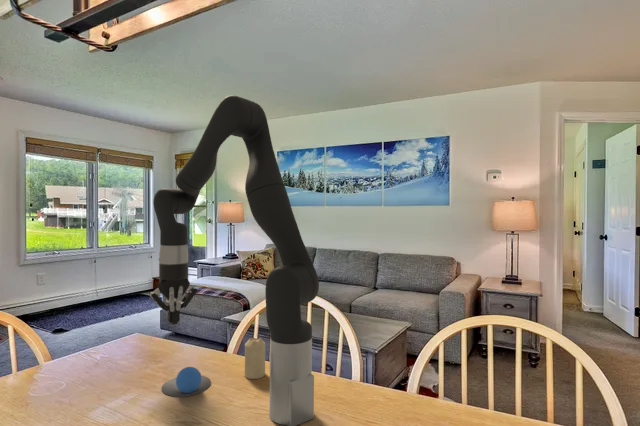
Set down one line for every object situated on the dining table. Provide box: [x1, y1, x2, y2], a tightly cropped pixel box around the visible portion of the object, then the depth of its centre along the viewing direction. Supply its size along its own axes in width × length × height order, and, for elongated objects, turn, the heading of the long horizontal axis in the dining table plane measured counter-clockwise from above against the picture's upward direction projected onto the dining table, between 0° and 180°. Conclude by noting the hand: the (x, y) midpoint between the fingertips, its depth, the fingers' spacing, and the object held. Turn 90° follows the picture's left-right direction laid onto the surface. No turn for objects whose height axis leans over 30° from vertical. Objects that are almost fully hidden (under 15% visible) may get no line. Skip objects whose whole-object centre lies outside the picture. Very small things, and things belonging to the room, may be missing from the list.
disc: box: [161, 374, 212, 398], centre depth 101 cm, size 12×12×1 cm
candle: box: [244, 337, 266, 380], centre depth 108 cm, size 6×6×10 cm
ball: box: [175, 366, 202, 393], centre depth 98 cm, size 6×6×6 cm
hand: (173, 323), depth 109 cm, fingers closed
